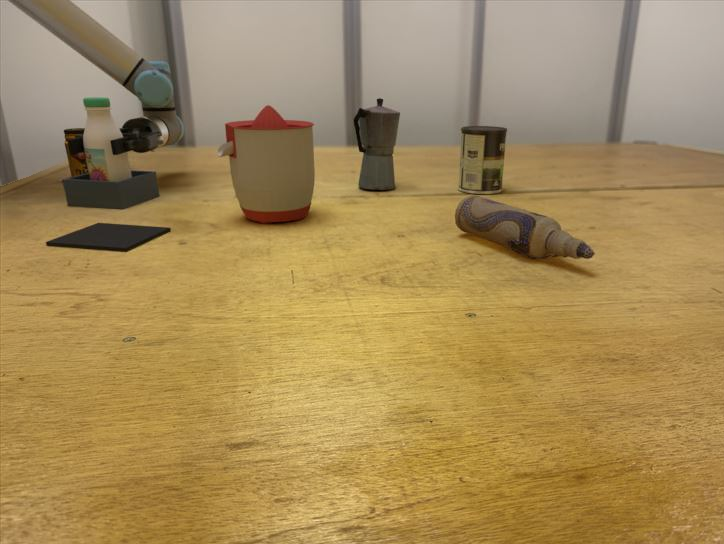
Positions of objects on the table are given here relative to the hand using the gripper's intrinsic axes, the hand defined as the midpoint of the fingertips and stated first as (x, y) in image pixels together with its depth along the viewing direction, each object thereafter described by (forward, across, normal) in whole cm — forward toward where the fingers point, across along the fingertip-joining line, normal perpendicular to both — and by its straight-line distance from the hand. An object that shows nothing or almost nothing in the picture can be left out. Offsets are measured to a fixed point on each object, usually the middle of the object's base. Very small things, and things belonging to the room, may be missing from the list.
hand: (92, 147), depth 106 cm
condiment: (-28, +19, -12) cm, 36 cm away
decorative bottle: (+25, -78, -12) cm, 83 cm away
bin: (-5, 0, -12) cm, 12 cm away
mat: (+22, -13, -12) cm, 28 cm away
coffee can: (-22, -78, -12) cm, 82 cm away
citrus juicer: (+7, -36, -12) cm, 38 cm away
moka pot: (-22, -54, -12) cm, 59 cm away
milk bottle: (-5, 0, -11) cm, 12 cm away
